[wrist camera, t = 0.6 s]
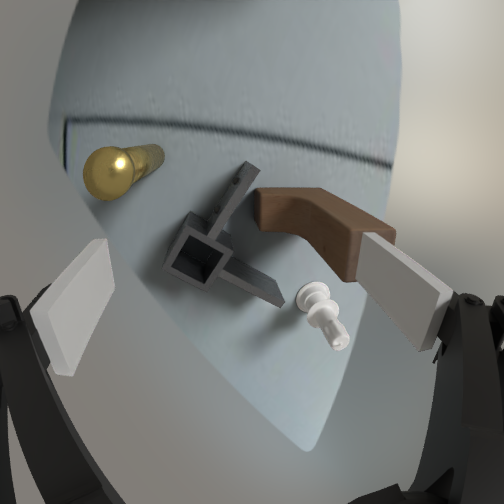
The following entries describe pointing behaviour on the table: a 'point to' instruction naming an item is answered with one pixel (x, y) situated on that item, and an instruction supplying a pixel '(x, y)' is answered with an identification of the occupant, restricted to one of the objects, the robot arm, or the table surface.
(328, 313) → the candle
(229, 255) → the square tube bracket
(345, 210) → the wooden block
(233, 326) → the table surface
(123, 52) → the table surface
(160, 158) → the hinge pin
